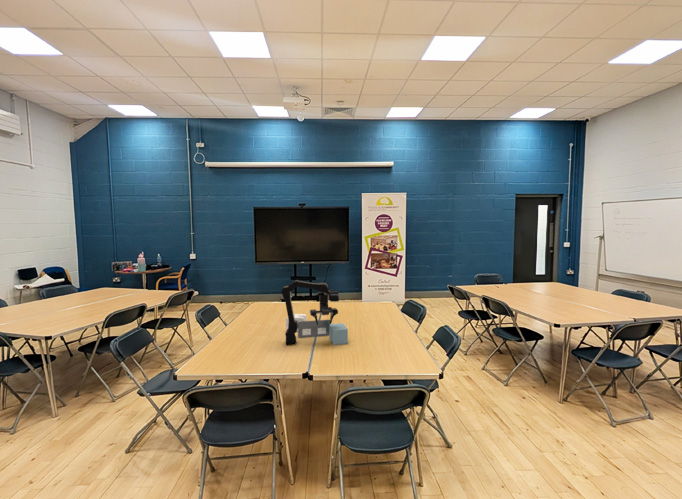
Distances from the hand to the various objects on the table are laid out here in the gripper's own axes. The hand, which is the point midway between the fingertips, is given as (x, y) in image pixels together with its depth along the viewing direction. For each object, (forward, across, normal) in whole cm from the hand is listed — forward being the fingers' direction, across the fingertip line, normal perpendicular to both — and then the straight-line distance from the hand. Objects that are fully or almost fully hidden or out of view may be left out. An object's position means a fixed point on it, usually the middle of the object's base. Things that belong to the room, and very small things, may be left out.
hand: (324, 324), depth 214 cm
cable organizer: (+13, -17, +32) cm, 39 cm away
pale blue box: (+13, +10, 0) cm, 16 cm away
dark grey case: (+13, -2, +5) cm, 14 cm away
